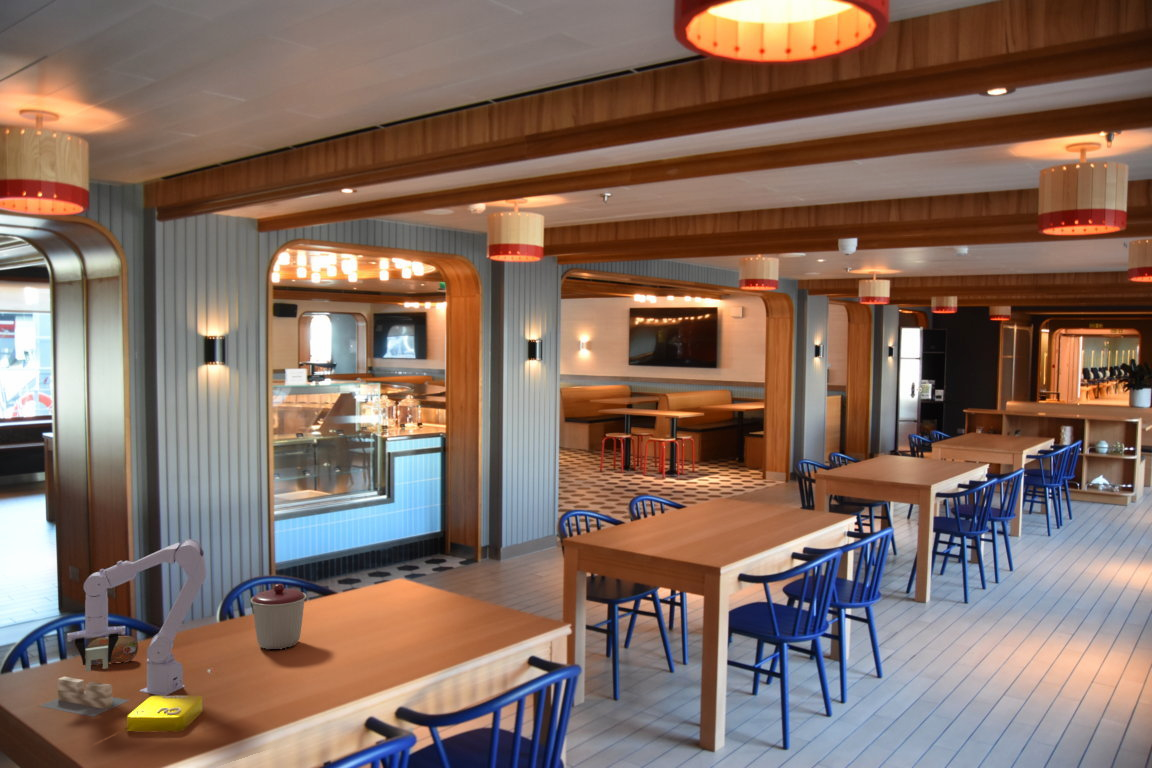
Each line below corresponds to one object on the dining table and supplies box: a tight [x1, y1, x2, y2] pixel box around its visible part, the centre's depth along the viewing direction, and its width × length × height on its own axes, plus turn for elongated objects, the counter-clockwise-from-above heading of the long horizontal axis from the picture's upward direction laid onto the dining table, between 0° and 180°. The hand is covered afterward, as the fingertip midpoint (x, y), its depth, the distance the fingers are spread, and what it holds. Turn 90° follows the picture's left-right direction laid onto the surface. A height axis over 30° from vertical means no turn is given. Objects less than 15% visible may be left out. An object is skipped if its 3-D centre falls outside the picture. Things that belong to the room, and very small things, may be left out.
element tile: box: [126, 694, 203, 733], centre depth 230 cm, size 15×15×5 cm
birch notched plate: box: [57, 676, 113, 709], centre depth 240 cm, size 18×2×6 cm, turn 70°
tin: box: [85, 635, 139, 666], centre depth 273 cm, size 15×3×8 cm, turn 105°
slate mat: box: [39, 696, 130, 717], centre depth 240 cm, size 20×12×1 cm, turn 70°
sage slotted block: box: [85, 646, 109, 672], centre depth 245 cm, size 2×6×6 cm, turn 120°
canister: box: [250, 583, 308, 650], centre depth 291 cm, size 18×18×21 cm
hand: (96, 662), depth 245 cm, fingers closed on sage slotted block, 6 cm apart
